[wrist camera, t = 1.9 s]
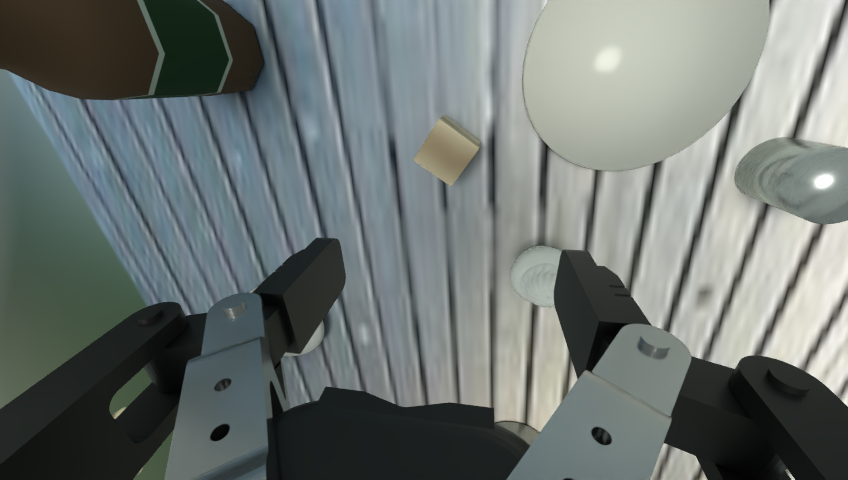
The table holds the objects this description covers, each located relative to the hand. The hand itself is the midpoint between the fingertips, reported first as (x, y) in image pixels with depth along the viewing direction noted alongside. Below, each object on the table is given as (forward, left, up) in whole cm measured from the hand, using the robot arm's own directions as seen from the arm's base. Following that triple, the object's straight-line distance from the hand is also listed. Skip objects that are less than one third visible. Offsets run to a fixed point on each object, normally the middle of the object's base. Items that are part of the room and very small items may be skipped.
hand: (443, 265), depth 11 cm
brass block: (-1, +1, -21) cm, 21 cm away
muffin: (0, -14, -21) cm, 25 cm away
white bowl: (+14, -2, -21) cm, 25 cm away
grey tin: (+20, -16, -21) cm, 33 cm away
